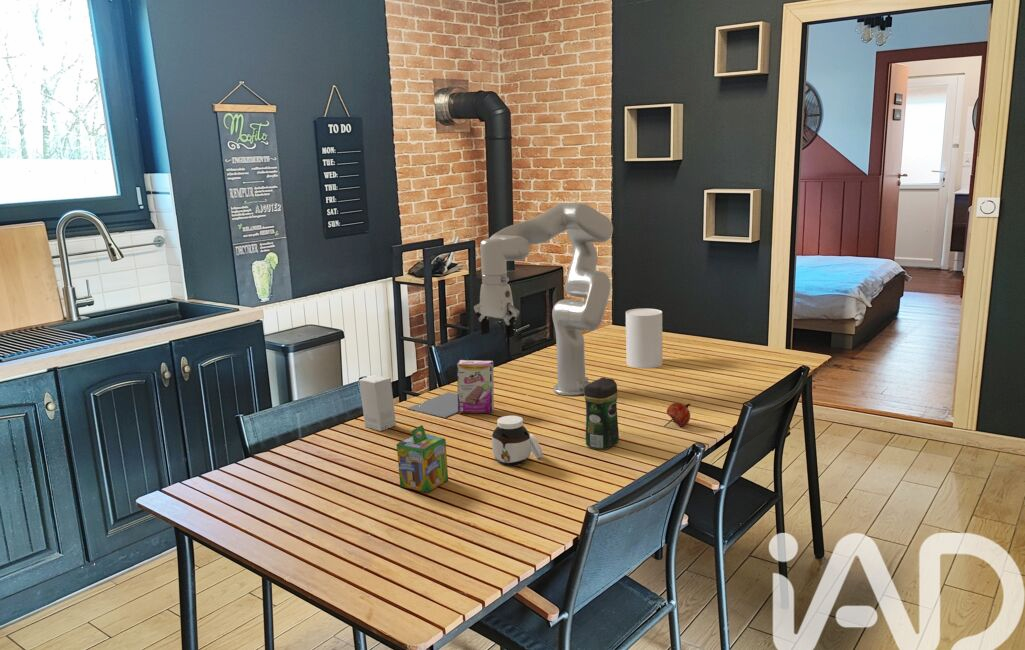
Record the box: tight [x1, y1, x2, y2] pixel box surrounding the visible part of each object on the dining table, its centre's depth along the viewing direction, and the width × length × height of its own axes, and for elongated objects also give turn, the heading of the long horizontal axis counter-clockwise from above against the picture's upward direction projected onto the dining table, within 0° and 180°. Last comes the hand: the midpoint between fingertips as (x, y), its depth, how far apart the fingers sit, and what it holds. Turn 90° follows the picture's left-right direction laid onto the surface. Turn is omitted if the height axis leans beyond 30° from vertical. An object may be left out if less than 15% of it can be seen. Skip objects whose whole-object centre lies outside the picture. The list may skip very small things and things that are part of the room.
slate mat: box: [406, 391, 459, 419], centre depth 256 cm, size 17×20×1 cm
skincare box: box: [358, 374, 397, 432], centre depth 237 cm, size 8×7×16 cm
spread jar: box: [491, 415, 544, 467], centre depth 206 cm, size 12×11×12 cm
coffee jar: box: [583, 377, 620, 450], centre depth 213 cm, size 10×8×19 cm
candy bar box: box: [456, 359, 495, 414], centre depth 246 cm, size 11×5×16 cm, turn 84°
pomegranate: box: [663, 402, 691, 428], centre depth 226 cm, size 7×7×10 cm
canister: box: [625, 307, 663, 369], centre depth 292 cm, size 14×14×20 cm
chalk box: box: [396, 424, 449, 494], centre depth 194 cm, size 9×9×15 cm
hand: (497, 335), depth 236 cm, fingers open, 9 cm apart
